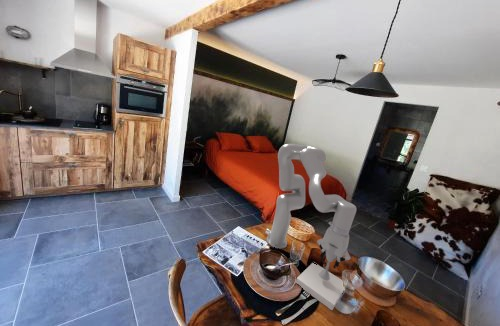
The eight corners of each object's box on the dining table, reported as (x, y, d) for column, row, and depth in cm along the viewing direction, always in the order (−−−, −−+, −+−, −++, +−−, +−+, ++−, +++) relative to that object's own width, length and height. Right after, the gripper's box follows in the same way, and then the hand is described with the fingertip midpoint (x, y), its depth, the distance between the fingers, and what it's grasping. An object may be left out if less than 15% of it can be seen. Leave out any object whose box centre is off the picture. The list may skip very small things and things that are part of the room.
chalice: (332, 284, 98) (344, 250, 94) (317, 279, 99) (328, 245, 95) (330, 272, 105) (341, 240, 101) (316, 268, 106) (326, 236, 102)
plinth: (295, 283, 102) (296, 278, 102) (311, 266, 116) (313, 261, 115) (332, 310, 92) (334, 305, 91) (345, 288, 105) (347, 283, 104)
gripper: (318, 222, 98) (308, 255, 103) (357, 242, 88) (344, 278, 92) (324, 217, 104) (314, 249, 108) (362, 236, 93) (349, 270, 98)
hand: (328, 262), depth 100 cm, fingers closed on chalice, 5 cm apart
